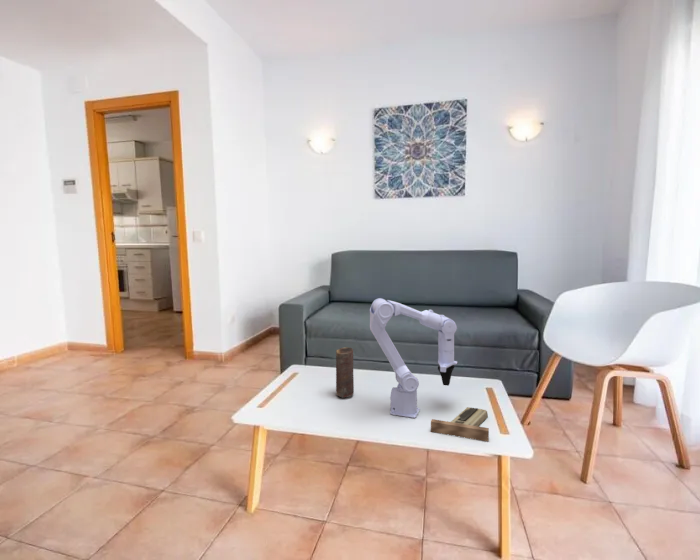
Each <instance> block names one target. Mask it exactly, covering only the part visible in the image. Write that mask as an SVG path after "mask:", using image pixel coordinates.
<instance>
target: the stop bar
mask: <svg viewBox="0 0 700 560" xmlns="http://www.w3.org/2000/svg"><path fill="white" fill-rule="evenodd" d="M489 431H490V429H489V427H483V426H479V427H478V426H472V425H466V424H460V423H453V422H451V421H448V420H447V421H446V420H441V419H433V418H432V419H431V420H430V433H437V434H441V433H442V435H447V434H449V436H452V435H455V436H454V437H458V436H460V437H459V438H464V437H465V438H466V439H470V438H471V439H470V440H475V439H476V441H480V442H481V441H482V442H487V441H488V442H489V439H490V437H489V436H490V435H489V433H490V432H489Z"/></svg>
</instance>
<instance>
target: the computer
mask: <svg viewBox="0 0 700 560" xmlns="http://www.w3.org/2000/svg"><path fill="white" fill-rule="evenodd" d="M488 415H489V414H488V411H487V409H483V408H476V407H475V408H474V407H469V406H468V407H465V409H464V410H463V411H461V412H460V413H458V415H456V417H454V419H452V420H451V421H450V422H453V423H460V424H466V425H472V426H478V427H481V425H482V424H483V422H485V420H486V419H487V418H488V417H489V416H488Z"/></svg>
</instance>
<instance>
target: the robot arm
mask: <svg viewBox="0 0 700 560" xmlns="http://www.w3.org/2000/svg"><path fill="white" fill-rule="evenodd" d="M399 315H403V316H406V317H408V318H412V319H414V320H417V321H418V322H419V324H420V325H422V326H424V327H427V328H430V329H433V330H434V331H438V334H437V335H438V337H437V344H438V345H437V346H438V347H437V348H438V350H437V351H438V353H437V354H438V356H437V363H438V366H437V370H438V372H439V374H440V377H441V381H442V386H450V384H451V378H452V374H453V371H454V369H455V365H457V364H458V360H455V333H456V332H457V330H458V326H457V324H456V321H454V320H453V319H452V318H450V317H448V316H445V315H444V314H438V313H436V312H434V310H433V309H428V310H427V309H425V310H423V311H420V310H417V309H415V308H413V307H410V306H408V305H406V304H402V303H400V302H397V301H393V300H390V299H387V300H386V299H384V298H383V297H379V298H376V299H374V300H373V302H372V303H371V306H370V308H369V329H370V332H371V333H372V334H373V337H374V338H375V340H376V341H377V343H378V345H379V347H380V349H381V350H382V352H383V353H384V356H385V358H386V359H387V360H388V362H389V364H390V366H391V367H392V370H393V372H394V374H395V380H396V382H397V383H398V384H397V387H392V389H391V391H390V412H389V414H390V415H394V416H400V417H406V418H411V419H415V418H417V416H418V414H419V412H420V410H421V408H420V407H418V390H417V389H418V388H419V386H420V382H419V379H418V377H416V376H415V375H414V374H413V373H412V371H411V369H409V367H408V366H407V365H406V363H405V362H404V360H403V358H402V356H401V355H400V352H399V351H398V349H397V348H396V345H394V343H393V341H392V338H391V337H390V335H389V333H388V332H387V330H386V328H387V324H388V322H389V321H390V320H391V318H392V317H393V316H394V317H397V316H399Z"/></svg>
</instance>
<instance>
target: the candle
mask: <svg viewBox="0 0 700 560" xmlns="http://www.w3.org/2000/svg"><path fill="white" fill-rule="evenodd" d="M335 367H336V368H335V394H336V396H339V397H340V398H341V399H343V398H347V397H351V396H353V395H354V393H355V392H354V391H355V390H354V386H355V385H354V384H355V383H354V349H353V348H352V347H350V346H349V347H348V346H345V347H341V348H339V349H336V350H335Z"/></svg>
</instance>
